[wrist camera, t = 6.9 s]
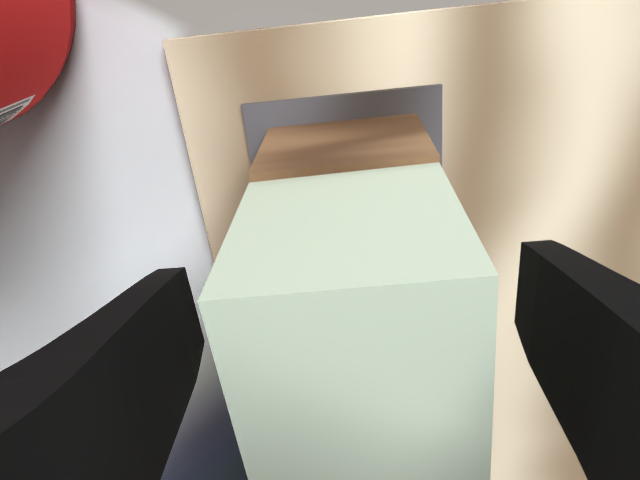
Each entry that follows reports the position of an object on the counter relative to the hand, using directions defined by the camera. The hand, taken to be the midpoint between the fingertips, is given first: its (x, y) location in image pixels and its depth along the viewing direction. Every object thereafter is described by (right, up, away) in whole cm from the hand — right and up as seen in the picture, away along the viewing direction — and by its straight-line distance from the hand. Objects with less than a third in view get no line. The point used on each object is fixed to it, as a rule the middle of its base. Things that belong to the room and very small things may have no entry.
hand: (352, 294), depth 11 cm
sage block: (0, +1, +2) cm, 2 cm away
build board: (+4, -1, +8) cm, 9 cm away
